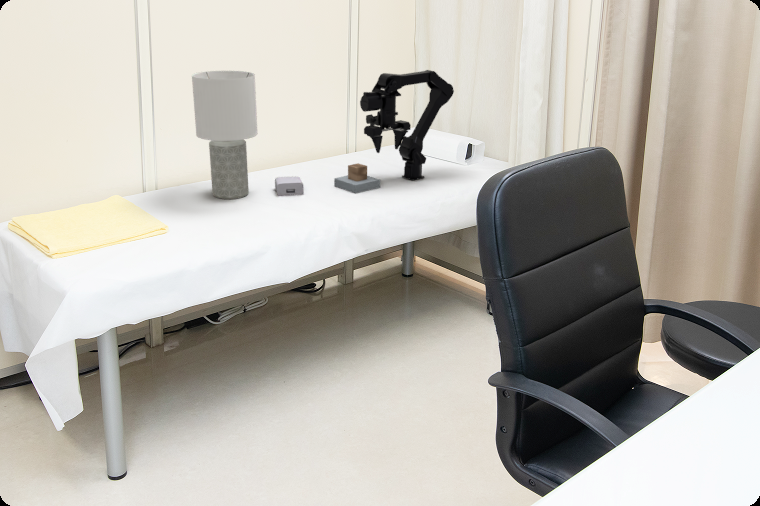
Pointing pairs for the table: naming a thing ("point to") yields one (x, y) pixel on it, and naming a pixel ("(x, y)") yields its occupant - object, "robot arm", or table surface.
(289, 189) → the charger
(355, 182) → the grey base
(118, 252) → the table surface
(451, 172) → the table surface
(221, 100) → the lamp
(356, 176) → the walnut cube
